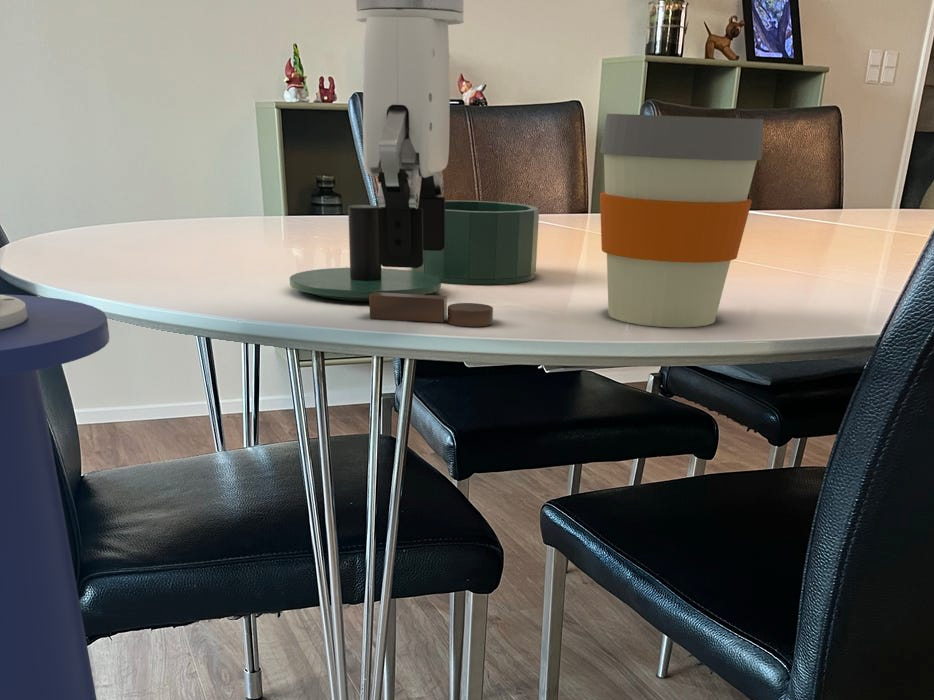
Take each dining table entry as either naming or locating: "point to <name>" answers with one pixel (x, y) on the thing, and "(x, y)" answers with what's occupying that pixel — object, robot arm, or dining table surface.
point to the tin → (485, 244)
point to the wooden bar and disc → (428, 309)
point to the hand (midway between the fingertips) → (414, 257)
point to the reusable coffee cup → (674, 213)
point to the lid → (363, 267)
